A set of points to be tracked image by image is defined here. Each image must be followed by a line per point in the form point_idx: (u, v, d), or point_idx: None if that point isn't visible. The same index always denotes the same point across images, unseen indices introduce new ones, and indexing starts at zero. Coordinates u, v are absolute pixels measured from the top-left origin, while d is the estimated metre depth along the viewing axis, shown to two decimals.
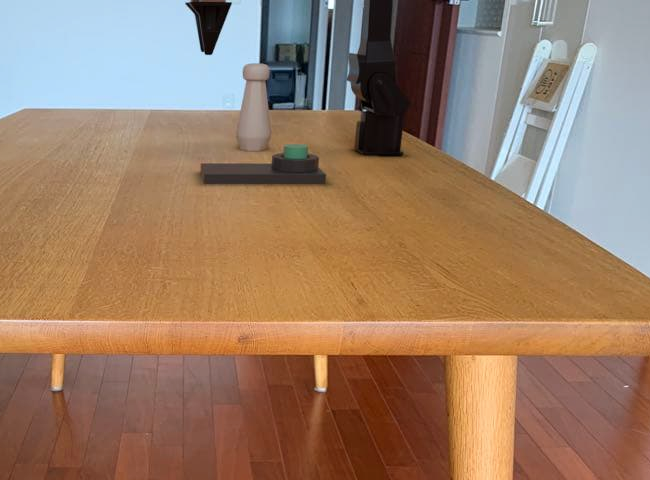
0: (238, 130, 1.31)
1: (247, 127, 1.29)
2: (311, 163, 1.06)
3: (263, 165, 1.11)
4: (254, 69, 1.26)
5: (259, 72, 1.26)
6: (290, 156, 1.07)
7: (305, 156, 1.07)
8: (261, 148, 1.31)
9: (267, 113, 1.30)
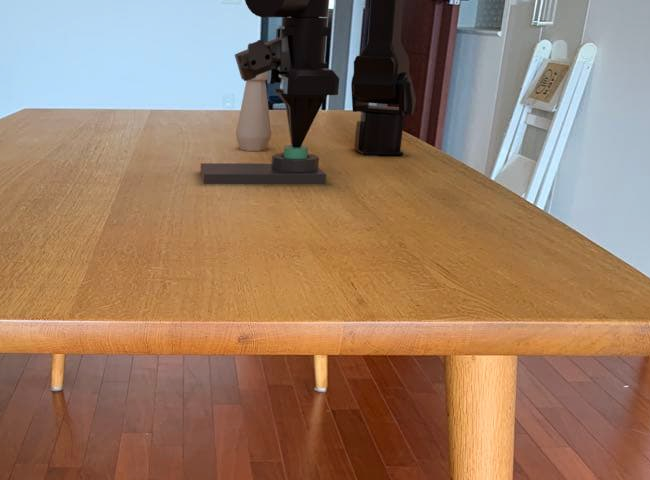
0: (238, 130, 1.31)
1: (247, 127, 1.29)
2: (311, 163, 1.06)
3: (263, 165, 1.11)
4: None
5: None
6: (290, 157, 1.07)
7: (305, 157, 1.07)
8: (261, 148, 1.31)
9: (267, 113, 1.30)
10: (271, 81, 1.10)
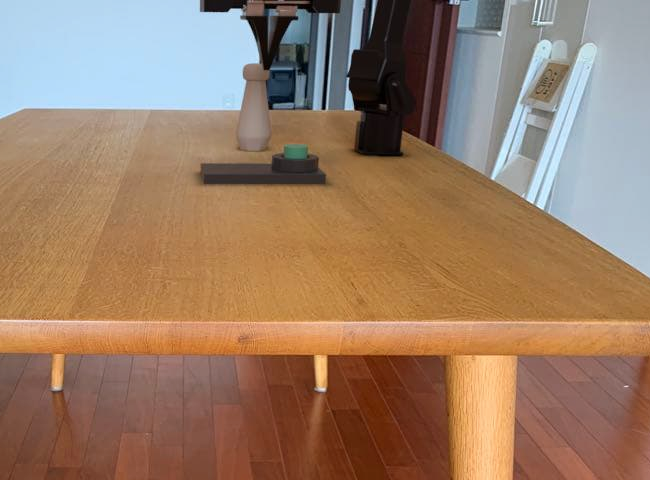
0: (238, 130, 1.31)
1: (247, 127, 1.29)
2: (311, 163, 1.06)
3: (263, 165, 1.11)
4: (254, 69, 1.26)
5: (259, 72, 1.26)
6: (290, 156, 1.07)
7: (305, 156, 1.07)
8: (261, 148, 1.31)
9: (267, 113, 1.30)
10: None
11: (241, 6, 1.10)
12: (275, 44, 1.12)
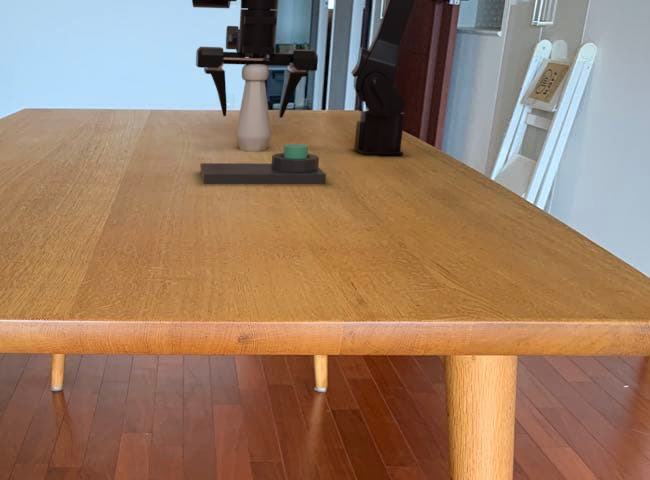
0: (238, 130, 1.31)
1: (246, 127, 1.29)
2: (311, 163, 1.06)
3: (263, 165, 1.11)
4: (253, 69, 1.26)
5: (258, 72, 1.26)
6: (290, 156, 1.07)
7: (305, 156, 1.07)
8: (261, 148, 1.31)
9: (266, 113, 1.30)
10: None
11: (231, 62, 1.27)
12: (287, 96, 1.28)
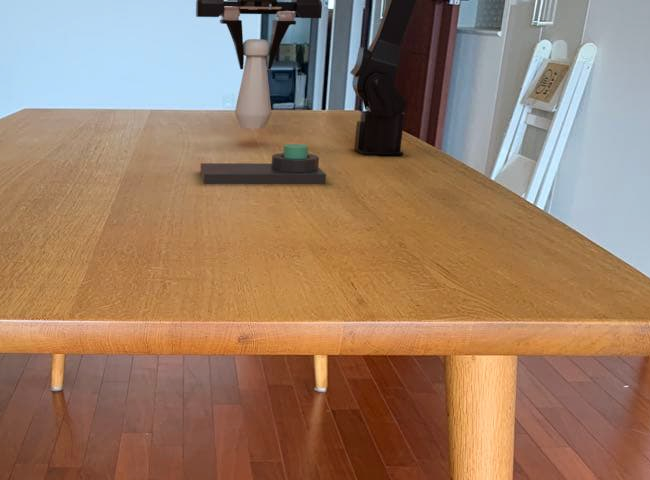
0: (238, 108, 1.28)
1: (247, 104, 1.26)
2: (311, 163, 1.06)
3: (263, 165, 1.11)
4: (255, 44, 1.23)
5: (260, 47, 1.23)
6: (290, 156, 1.07)
7: (305, 156, 1.07)
8: (261, 126, 1.29)
9: (267, 90, 1.27)
10: None
11: None
12: (275, 46, 1.24)
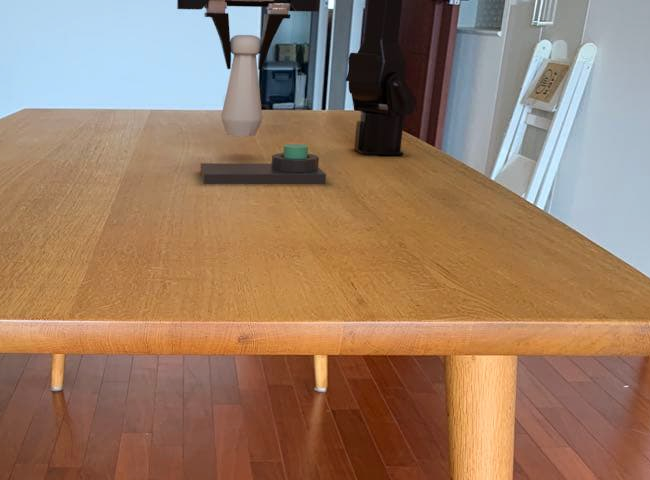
0: (224, 112, 1.13)
1: (234, 108, 1.12)
2: (311, 163, 1.06)
3: (263, 165, 1.11)
4: (244, 40, 1.08)
5: (249, 44, 1.09)
6: (290, 156, 1.07)
7: (305, 156, 1.07)
8: (251, 134, 1.14)
9: (257, 93, 1.12)
10: None
11: None
12: (266, 43, 1.09)
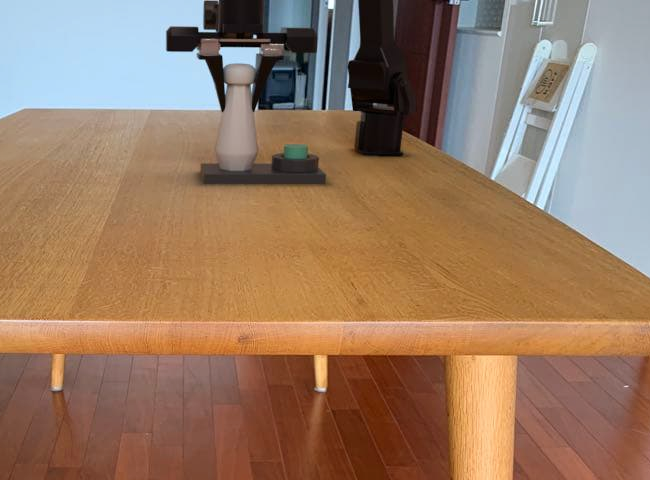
0: (218, 146, 1.06)
1: (229, 142, 1.05)
2: (311, 163, 1.06)
3: (263, 165, 1.11)
4: (237, 70, 1.02)
5: (243, 74, 1.02)
6: (290, 156, 1.07)
7: (305, 156, 1.07)
8: (246, 167, 1.07)
9: (253, 124, 1.05)
10: None
11: None
12: (259, 85, 1.03)
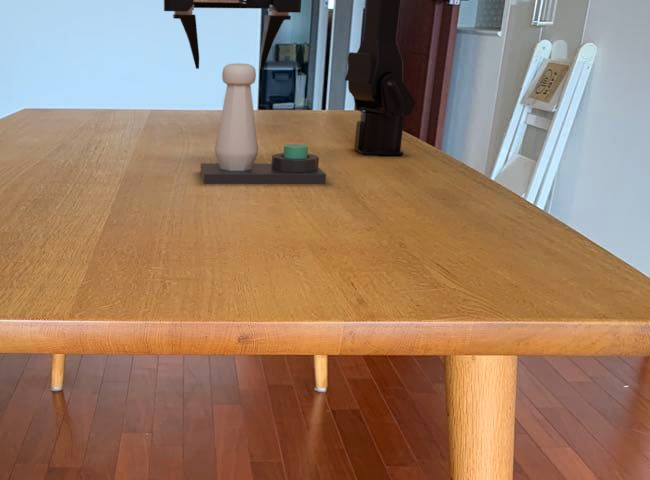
0: (218, 145, 1.06)
1: (229, 142, 1.05)
2: (311, 163, 1.06)
3: (263, 165, 1.11)
4: (237, 70, 1.02)
5: (243, 74, 1.02)
6: (290, 156, 1.07)
7: (305, 156, 1.07)
8: (246, 167, 1.07)
9: (253, 124, 1.05)
10: None
11: (203, 5, 1.12)
12: (268, 43, 1.13)
